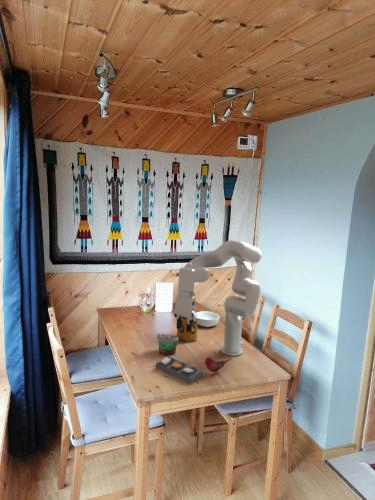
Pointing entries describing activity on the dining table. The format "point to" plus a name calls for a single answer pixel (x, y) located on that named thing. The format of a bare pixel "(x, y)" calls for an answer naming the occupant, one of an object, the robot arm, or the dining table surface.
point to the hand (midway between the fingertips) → (183, 329)
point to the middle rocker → (176, 365)
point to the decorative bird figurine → (215, 364)
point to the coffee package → (190, 335)
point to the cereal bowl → (207, 318)
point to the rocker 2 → (188, 370)
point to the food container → (167, 344)
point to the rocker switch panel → (180, 371)
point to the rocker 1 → (165, 361)
